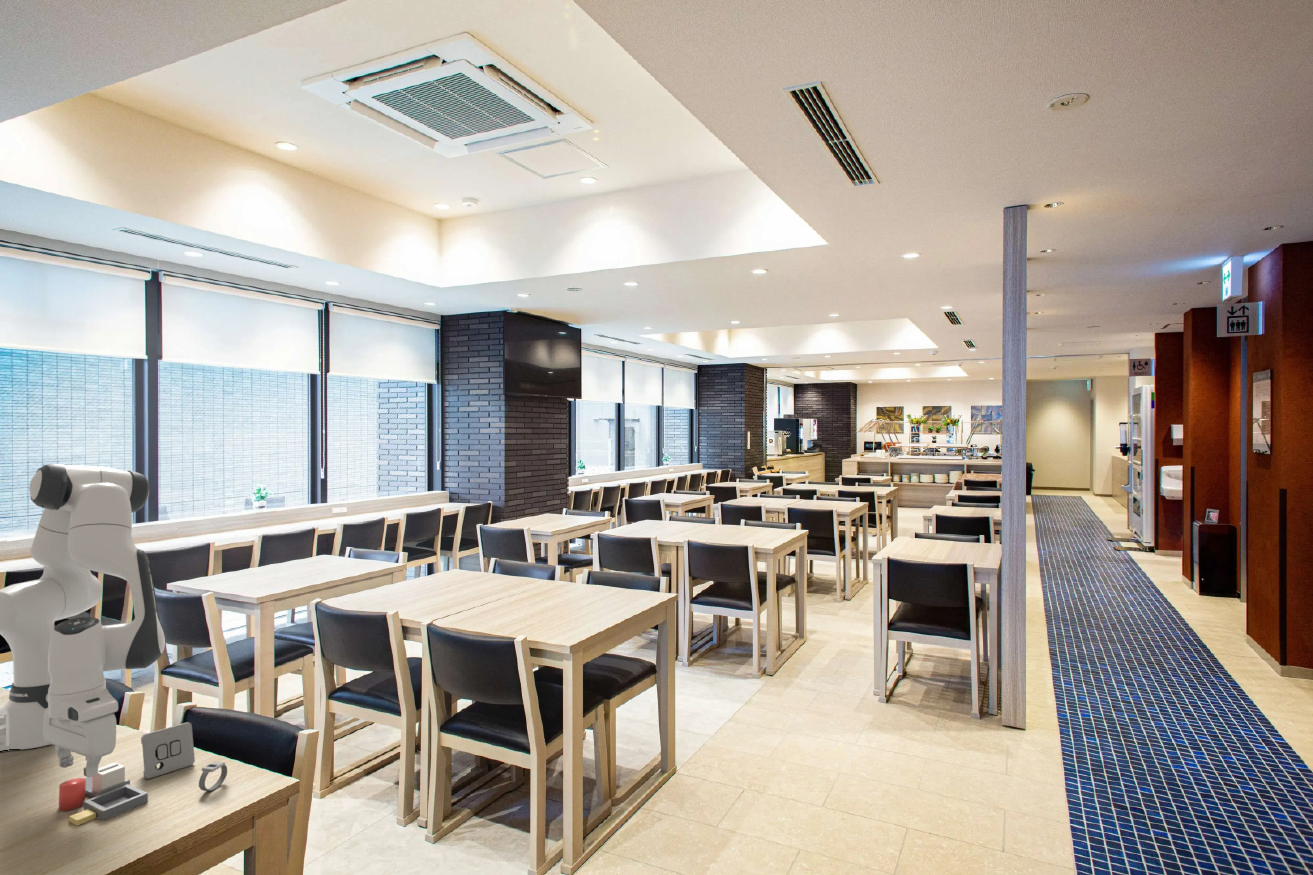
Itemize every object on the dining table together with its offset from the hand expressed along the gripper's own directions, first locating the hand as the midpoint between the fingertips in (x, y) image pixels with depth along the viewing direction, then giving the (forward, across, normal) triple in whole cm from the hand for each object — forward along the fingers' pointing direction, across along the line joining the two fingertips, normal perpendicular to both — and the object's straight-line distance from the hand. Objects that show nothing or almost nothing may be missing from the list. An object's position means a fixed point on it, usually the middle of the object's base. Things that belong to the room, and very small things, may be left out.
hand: (78, 770), depth 136 cm
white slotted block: (+7, 0, +5) cm, 9 cm away
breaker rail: (+7, -4, +5) cm, 10 cm away
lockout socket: (+7, +7, +1) cm, 10 cm away
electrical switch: (+7, -1, +16) cm, 18 cm away
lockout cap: (+7, -1, -1) cm, 7 cm away
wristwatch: (+8, +17, +16) cm, 25 cm away
